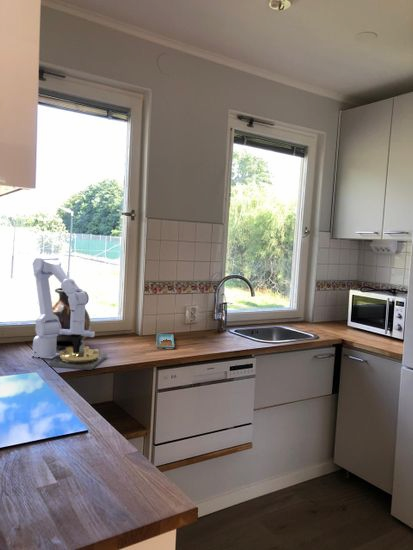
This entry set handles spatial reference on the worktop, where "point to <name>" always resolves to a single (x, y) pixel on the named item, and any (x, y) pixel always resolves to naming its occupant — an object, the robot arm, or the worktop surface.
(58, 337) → the amphora vase
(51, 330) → the robot arm
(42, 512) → the worktop surface
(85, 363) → the base plate
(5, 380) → the worktop surface
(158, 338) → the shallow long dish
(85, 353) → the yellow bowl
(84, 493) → the worktop surface
